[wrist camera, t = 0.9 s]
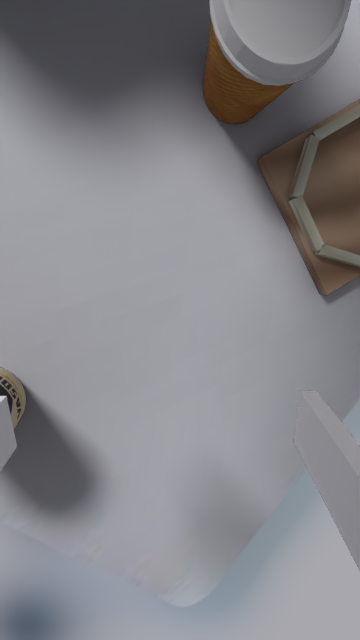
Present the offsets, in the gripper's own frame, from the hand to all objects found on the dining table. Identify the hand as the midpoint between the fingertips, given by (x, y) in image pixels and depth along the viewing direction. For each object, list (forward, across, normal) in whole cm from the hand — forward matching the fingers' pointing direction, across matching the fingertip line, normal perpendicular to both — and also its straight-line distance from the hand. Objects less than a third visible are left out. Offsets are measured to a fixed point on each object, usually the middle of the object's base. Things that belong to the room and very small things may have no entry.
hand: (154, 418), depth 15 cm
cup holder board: (+25, +20, +10) cm, 34 cm away
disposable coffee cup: (+25, +7, +20) cm, 33 cm away
